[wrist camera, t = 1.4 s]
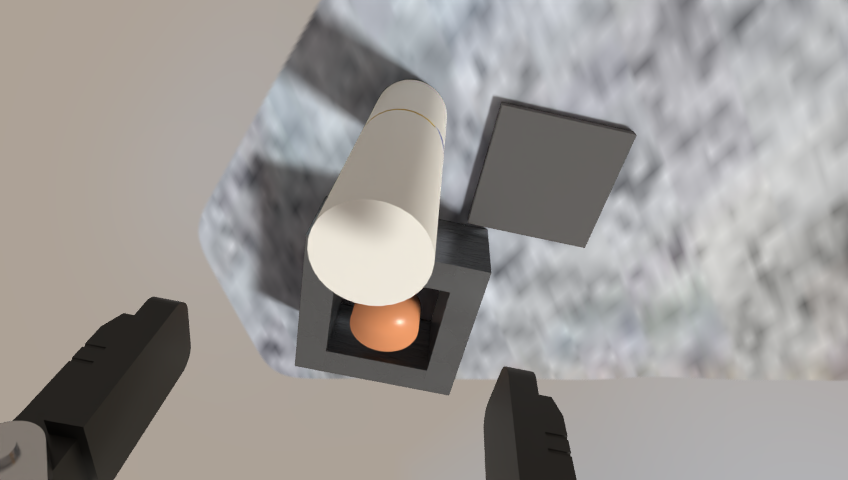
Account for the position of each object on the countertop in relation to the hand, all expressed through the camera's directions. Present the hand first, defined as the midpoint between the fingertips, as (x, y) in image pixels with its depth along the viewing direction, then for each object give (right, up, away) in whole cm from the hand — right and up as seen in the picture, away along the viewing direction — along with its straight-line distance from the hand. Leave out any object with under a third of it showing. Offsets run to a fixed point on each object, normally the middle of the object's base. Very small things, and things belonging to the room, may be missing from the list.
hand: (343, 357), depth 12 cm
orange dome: (0, -1, +20) cm, 20 cm away
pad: (+10, +7, +18) cm, 22 cm away
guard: (0, 0, +23) cm, 23 cm away
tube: (+1, +10, +17) cm, 20 cm away
